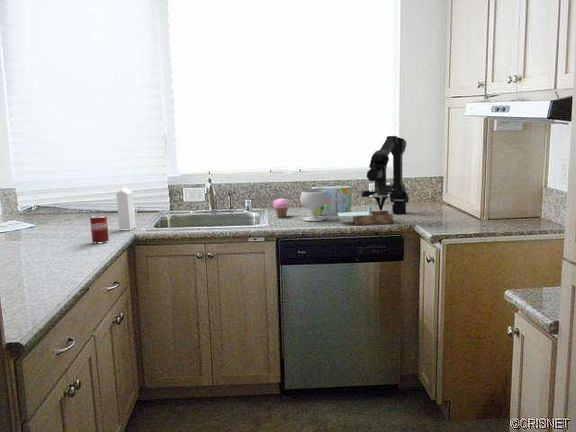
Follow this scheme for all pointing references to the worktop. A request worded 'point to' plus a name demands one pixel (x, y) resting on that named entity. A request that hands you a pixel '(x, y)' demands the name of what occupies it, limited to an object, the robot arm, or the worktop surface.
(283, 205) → the cupcake
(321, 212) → the snack box
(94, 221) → the soda can
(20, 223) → the worktop surface
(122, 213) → the milk
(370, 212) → the lid
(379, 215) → the walnut box
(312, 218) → the chalice
